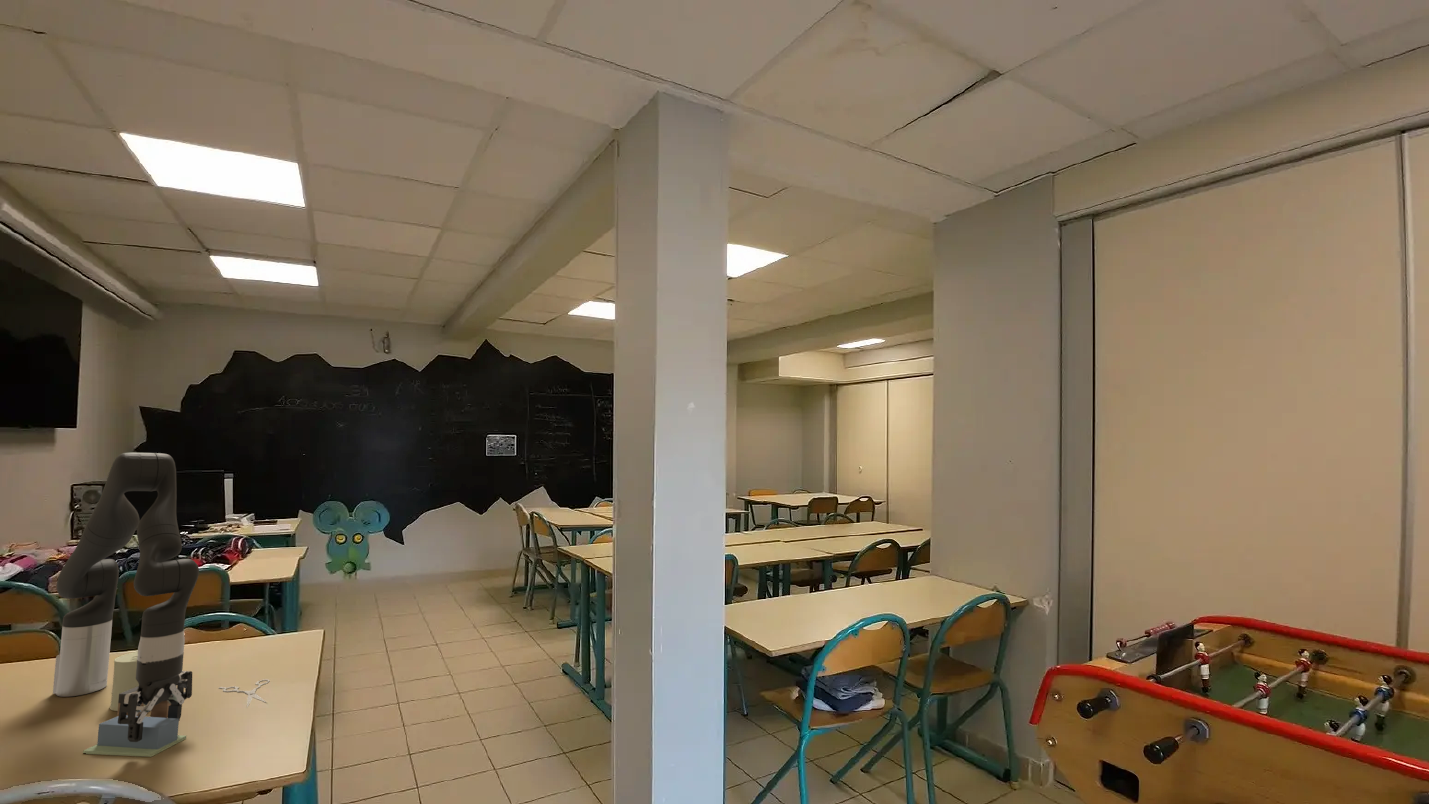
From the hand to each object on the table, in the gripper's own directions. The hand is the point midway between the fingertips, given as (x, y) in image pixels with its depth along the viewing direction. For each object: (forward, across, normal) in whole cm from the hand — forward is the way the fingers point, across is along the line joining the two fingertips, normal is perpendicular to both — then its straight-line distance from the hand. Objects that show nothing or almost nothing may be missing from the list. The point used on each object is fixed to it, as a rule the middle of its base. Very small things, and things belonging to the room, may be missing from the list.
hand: (154, 731), depth 132 cm
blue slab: (+3, 0, -4) cm, 5 cm away
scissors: (+4, -28, -2) cm, 28 cm away
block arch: (+3, -10, -12) cm, 16 cm away
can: (+3, -20, -25) cm, 32 cm away
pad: (+3, 0, -4) cm, 5 cm away
